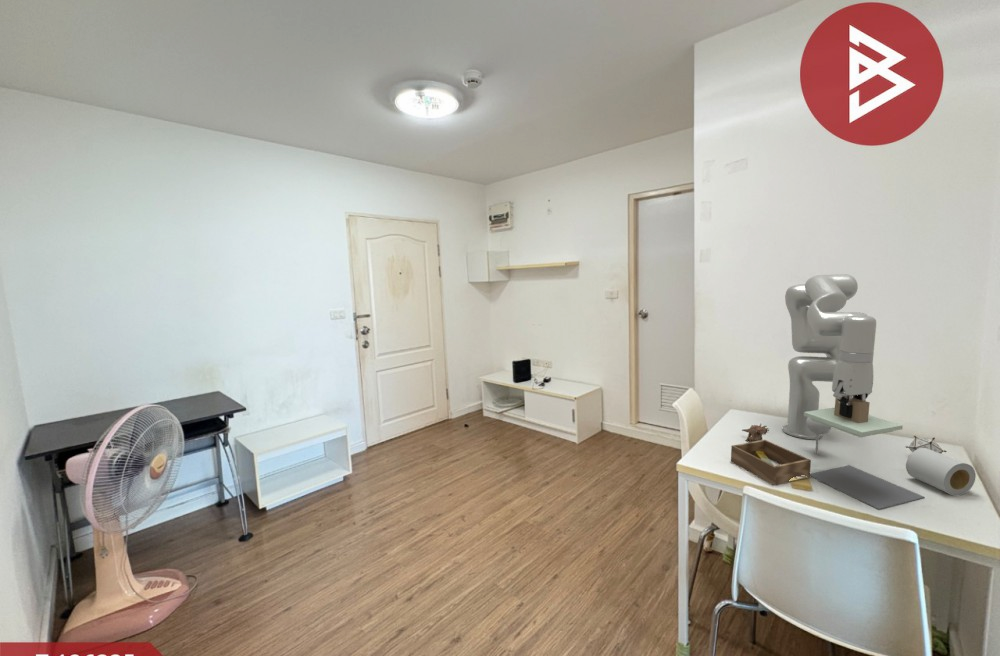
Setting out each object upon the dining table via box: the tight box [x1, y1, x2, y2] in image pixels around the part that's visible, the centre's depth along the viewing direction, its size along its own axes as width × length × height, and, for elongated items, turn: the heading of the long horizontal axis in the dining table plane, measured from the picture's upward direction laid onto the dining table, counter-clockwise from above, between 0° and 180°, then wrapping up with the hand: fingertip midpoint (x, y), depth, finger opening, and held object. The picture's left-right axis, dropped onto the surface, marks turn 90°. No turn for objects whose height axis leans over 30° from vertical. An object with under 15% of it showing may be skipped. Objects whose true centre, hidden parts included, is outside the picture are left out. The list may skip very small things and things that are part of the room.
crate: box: [730, 439, 812, 486], centre depth 134 cm, size 15×17×6 cm
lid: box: [804, 396, 904, 438], centre depth 121 cm, size 15×17×8 cm
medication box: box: [755, 451, 775, 466], centre depth 134 cm, size 12×3×4 cm, turn 163°
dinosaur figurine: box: [741, 423, 770, 443], centre depth 153 cm, size 14×6×9 cm, turn 173°
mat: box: [810, 464, 925, 511], centre depth 122 cm, size 18×20×1 cm
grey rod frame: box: [905, 435, 948, 454], centre depth 135 cm, size 9×8×10 cm
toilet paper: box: [905, 448, 977, 497], centre depth 119 cm, size 10×10×10 cm
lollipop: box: [806, 417, 832, 455], centre depth 142 cm, size 7×7×15 cm
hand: (850, 415), depth 121 cm, fingers closed on lid, 3 cm apart
